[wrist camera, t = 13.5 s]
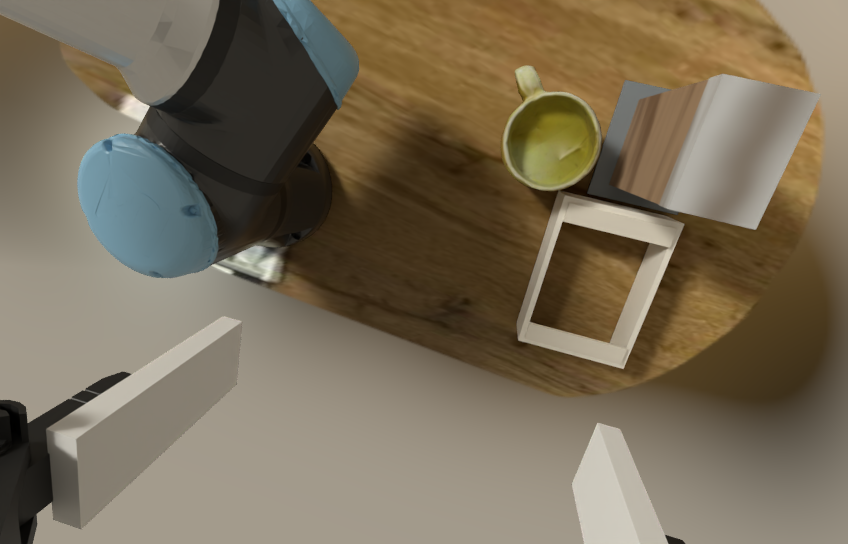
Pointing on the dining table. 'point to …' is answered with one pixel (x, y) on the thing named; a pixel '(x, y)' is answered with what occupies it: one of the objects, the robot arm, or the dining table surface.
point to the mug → (549, 136)
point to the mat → (614, 145)
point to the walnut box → (713, 147)
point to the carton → (661, 245)
